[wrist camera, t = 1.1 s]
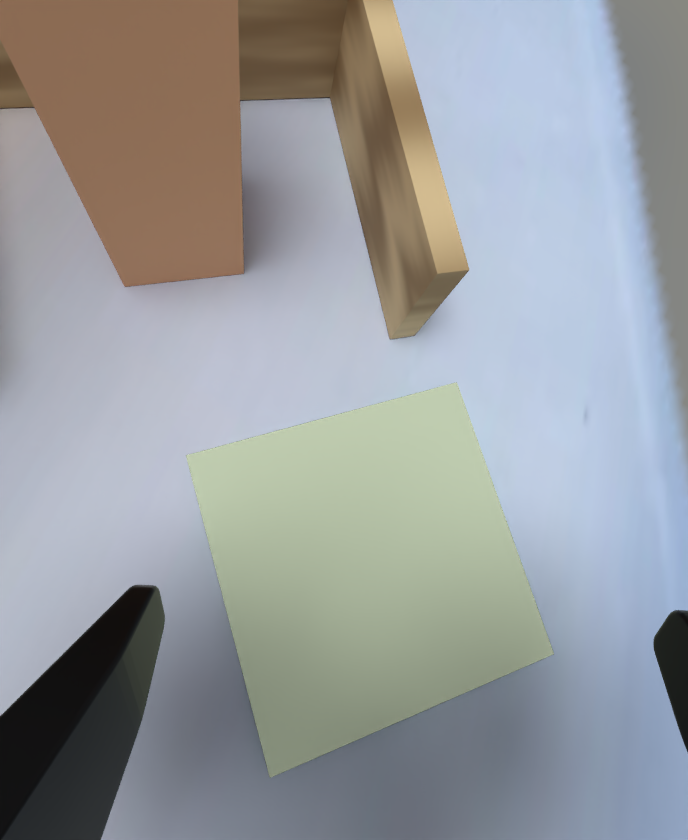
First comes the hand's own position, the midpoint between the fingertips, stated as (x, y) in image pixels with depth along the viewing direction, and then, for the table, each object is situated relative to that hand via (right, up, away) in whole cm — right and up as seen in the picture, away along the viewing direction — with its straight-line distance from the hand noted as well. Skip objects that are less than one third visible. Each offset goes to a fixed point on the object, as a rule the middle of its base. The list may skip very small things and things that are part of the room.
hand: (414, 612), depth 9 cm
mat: (0, -2, +12) cm, 12 cm away
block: (-9, +12, +13) cm, 20 cm away
